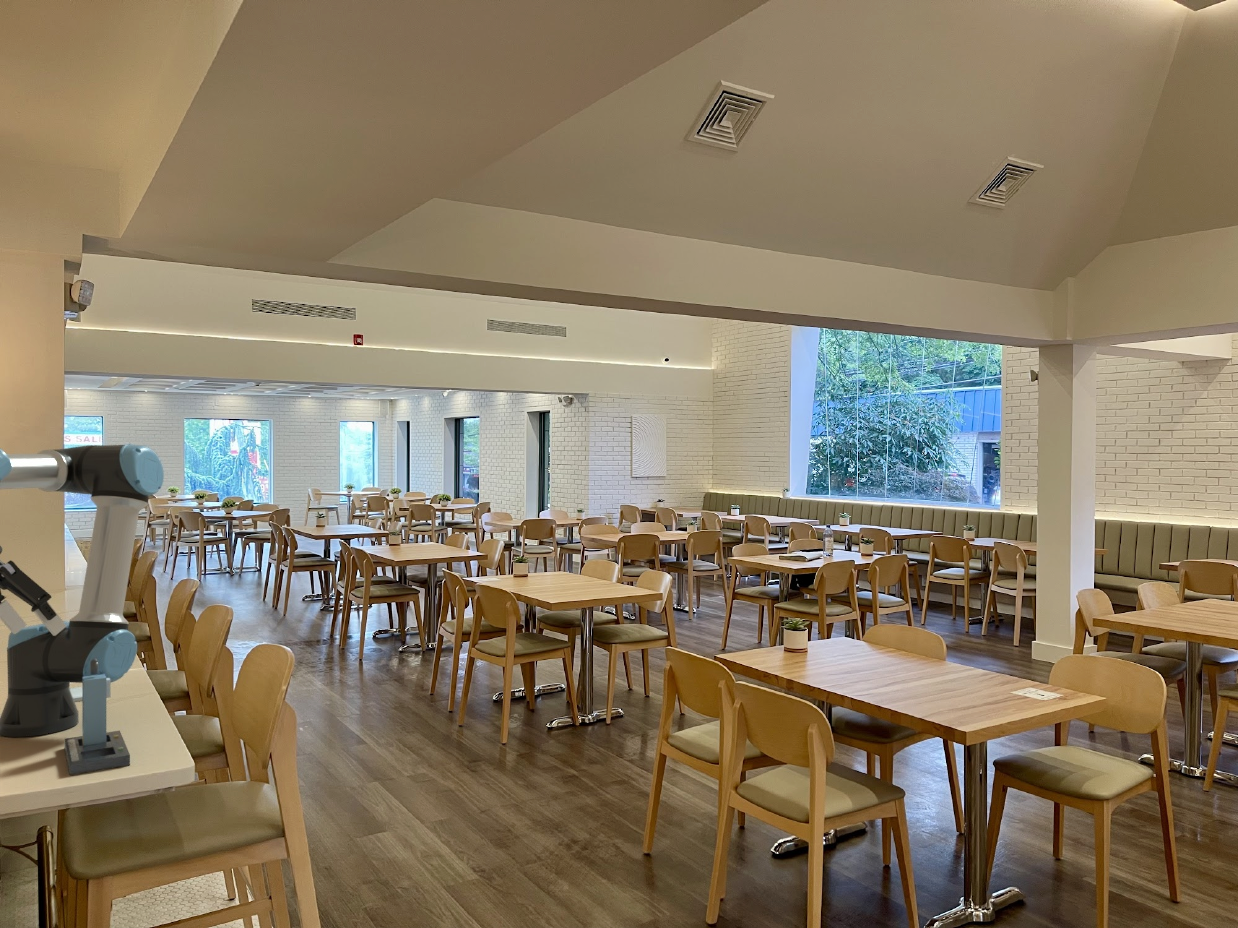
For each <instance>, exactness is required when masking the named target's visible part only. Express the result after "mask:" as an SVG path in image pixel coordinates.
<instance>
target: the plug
mask: <svg viewBox="0 0 1238 928" xmlns="http://www.w3.org/2000/svg"><path fill="white" fill-rule="evenodd" d="M90 674H91V675H93V676H85V677H82V683H81V684H82V686H81V687H82V701H81V702H82V703H81V704H82V710H81V711H82V713H81V715H82V716H81V717H82V719H81V720H82V721H81V723H82V728H81V729H82V733H81V736H82V746H84V745H91V744H97V743H104V742H106V732H107V699H108V698H111V692H112V691H111V685H112V684H111V683H112V682H111V680H110V678H106V676H105V674H102V675H95V674H98V660H97V659H92V660H91V662H90Z"/></svg>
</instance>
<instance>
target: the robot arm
mask: <svg viewBox="0 0 1238 928" xmlns="http://www.w3.org/2000/svg"><path fill="white" fill-rule="evenodd" d="M164 472H165V471H164V466H163V463H162V461H161V460H160V457H159V456H158V454H157V453H156V452H155V451H154V450H153V449H152V448H150V447H148V446H146V445H139V444H137V445H136V444H131V443H128V444H111V445H110V444H109V445H107V444H106V445H101V444H99V445H95V444H93V445H81V446H75V447H74V446H73V447H67V448H58V449H57V448H56V449H43V450H41V451H38V452H37V453H6V452H5V451H4V450H3V449H2V448H0V490H16V489H17V490H19V489H39V490H40V491H43V492H59V493H60V492H62V493H72V494H79V495H81V494H82V495H91V496H90V500H91V501H92V502H93V504H94V505H95V506H96V510H95V511H96V512H95V515H94V516H95V518H94V521H93V522H94V524H93V527H92V534H91V542H90V546H89V547H90V548H89V553H88V558H87V564H86V569H85V576H84V581H83V586H82V592H81V593H82V594H81V600H80V605H79V608H78V609H79V610H78V613H76V615H74V616H73V617H71V618H70V619H69V621H68V620H63V618H62V617H61V616H60V615H59V614H58V612H56V610H55V609H54V608H53V607H52V605H51V604H50V603H49V602H48V601H49V600H50V599H52V595H51V594H50V593H49V592H47V591H46V590H45V589H44V588H42V586H40V585H39V584H38V583H37V582H35V581H34V580H33V579H32V578H31V577H30V576H29V575H27V574H26V573H25V572H24V571H23V570H22V569H20V567H19V566H18V565H17V564H16V563H15V562H14V561H13V560H9V561H7V562H6V563H4V562H3V561H2V560H1V559H0V620H1V621H2V623H3V624H4V625H5V626H6V627H7V628H8V630H9V631H10V633H9V635H8V640H7V641H8V642H7V648H6V655H7V656H6V657H7V661H6V662H7V698H6V701H5V703H4V706H3V708H2V711H1V714H0V736H3V737H10V738H15V737H16V738H21V737H33V736H35V737H36V736H41V735H47V734H48V733H49V734H53V733H57V732H62V731H65V730H67V729H70V728H73V727H76V725H78V724H79V720H80V719H79V718H80V717H79V710H78V707H77V704H76V702H74V700H73V697H72V694H71V692H70V688H71V687H70V683H77V684H82V677H85V676H93V675H91V674H90V662H91V660H92V659H97V660H98V674H95V675H102V674H105V676H106V678H110V680H111V683H114V682H116V681H118V680H120V679H121V678H123V677H124V675H125V674H127V673H128V672H129V670H130V669H131V668H132V666H133V665H134V662H135V660H136V656H137V651H138V643H137V641H136V636H135V635H134V634H133V632H131V631H129V624H130V623H129V621H128V620H127V619H126V618H125V617H124V608H125V602H126V597H127V591H128V584H129V578H130V571H131V565H132V559H133V551H134V546H135V541H136V540H135V539H136V534H137V527H138V521H139V514H140V511H142V510H143V509H144V508H146V507H147V506H148V504H149V500H150V499H149V498H150V496H153V495H155V494H157V493H158V492H159V490H160V489H161V488H162V486H163V484H164V474H165V473H164ZM2 552H3V547H2V546H1V545H0V555H1V554H2ZM2 590H3V591H5V590H6V591H9V592H10V593H12V594H13V595H15V596H16V598H19V599H20V600H22V601H23V602H24V603H26V604H27V605H29V606H31V609H30V611H31V613H34V614H35V615H36V617H38V619H39V620H40V622H42V623H40V624H39V623H38V624H35V625H28V624H27V623H26V621H24V619H23V618H22V616H20V614H19V613H18V612H17V611H16V610H15V609H14V607H13V606H12V605H11V604H10V602H9V601H8V600H6V598H7V596H5V595H3V594H2ZM27 625H28V626H27Z"/></svg>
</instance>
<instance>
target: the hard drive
mask: <svg viewBox="0 0 1238 928" xmlns="http://www.w3.org/2000/svg"><path fill="white" fill-rule="evenodd" d="M70 692H71V694H72V697H73V700H74V702H75V703H78V701H79V702H82V686H80V687H70Z"/></svg>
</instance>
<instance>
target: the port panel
mask: <svg viewBox="0 0 1238 928" xmlns="http://www.w3.org/2000/svg"><path fill="white" fill-rule="evenodd" d="M64 752H65V757H66V763H67V769H68V774H69V776H73V775H79V774H86V773H91V772H98V771H103V770H104V771H105V770H110V769H115V768H120V767H128V766H130V765H131V760H130V759H131V757H130V756H131V755H130V752H129V750H128V747H127V745H126V743H125V740H124V737H123V735H122V732H121V730H115V731H108V732H107V731H106V742H104V743H97V744H91V745H84V746H82V735H81V736H75V737H74V736H73V737H67V738H66V737H65V738H64Z"/></svg>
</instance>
